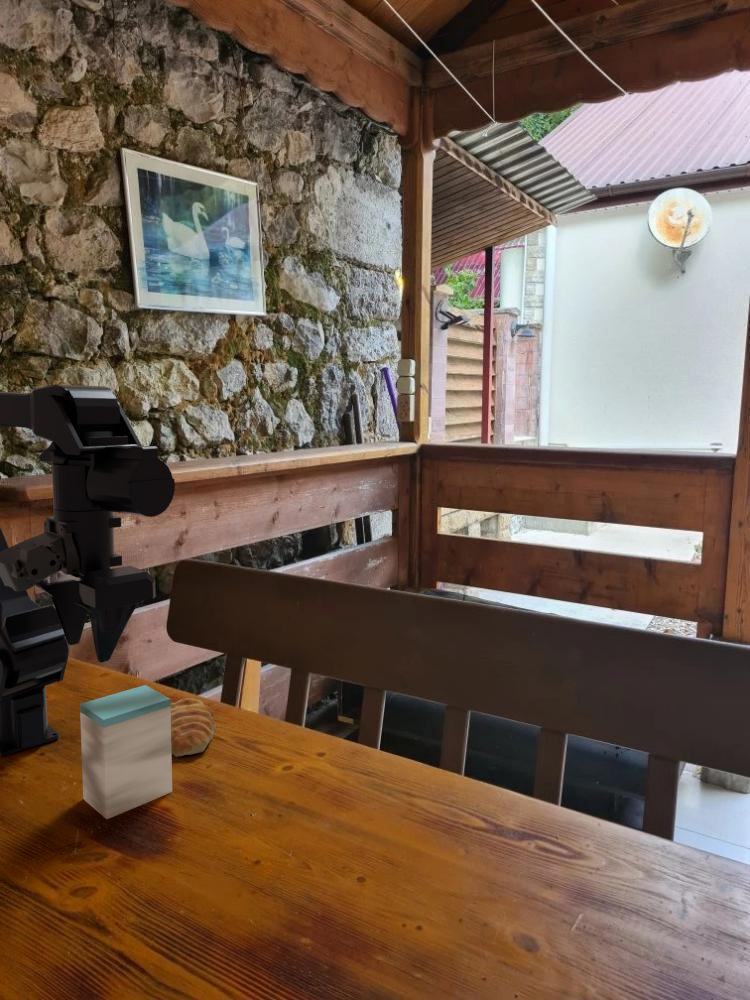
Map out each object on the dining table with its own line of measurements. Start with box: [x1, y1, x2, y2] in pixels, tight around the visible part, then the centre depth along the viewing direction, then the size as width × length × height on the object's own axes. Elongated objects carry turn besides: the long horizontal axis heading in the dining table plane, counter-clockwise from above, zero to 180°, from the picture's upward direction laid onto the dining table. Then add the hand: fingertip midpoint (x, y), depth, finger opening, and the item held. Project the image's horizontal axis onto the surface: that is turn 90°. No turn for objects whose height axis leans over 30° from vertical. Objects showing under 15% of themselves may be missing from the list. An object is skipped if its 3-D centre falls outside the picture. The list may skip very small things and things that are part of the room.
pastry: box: [170, 697, 217, 758], centre depth 84 cm, size 9×7×4 cm
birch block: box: [79, 684, 173, 820], centre depth 72 cm, size 5×7×10 cm
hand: (88, 652), depth 76 cm, fingers open, 7 cm apart
